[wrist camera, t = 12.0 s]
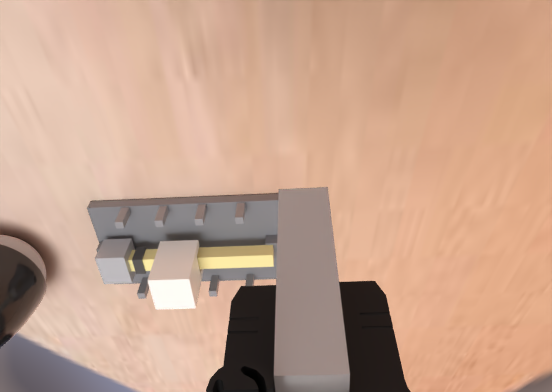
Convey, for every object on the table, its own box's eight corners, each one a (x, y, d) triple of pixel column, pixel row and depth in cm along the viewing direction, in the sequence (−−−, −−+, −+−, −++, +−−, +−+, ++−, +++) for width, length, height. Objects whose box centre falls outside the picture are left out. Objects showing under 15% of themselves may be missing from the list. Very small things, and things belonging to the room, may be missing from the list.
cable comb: (116, 276, 58) (104, 308, 54) (90, 201, 52) (74, 230, 48) (285, 271, 57) (285, 302, 53) (280, 193, 51) (279, 222, 47)
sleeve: (167, 269, 53) (156, 309, 49) (160, 241, 51) (147, 280, 46) (203, 268, 53) (195, 308, 49) (198, 239, 51) (189, 279, 46)
